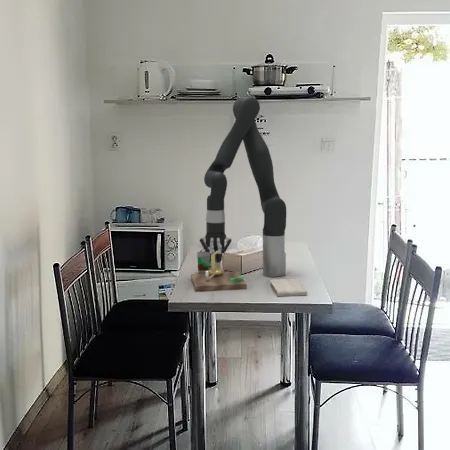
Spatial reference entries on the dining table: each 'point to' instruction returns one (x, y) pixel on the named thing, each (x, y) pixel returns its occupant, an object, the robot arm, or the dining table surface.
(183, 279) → the dining table surface
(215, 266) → the tan bar with dome
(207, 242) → the pen holder
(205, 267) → the food container
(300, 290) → the washcloth
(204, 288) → the dial board
